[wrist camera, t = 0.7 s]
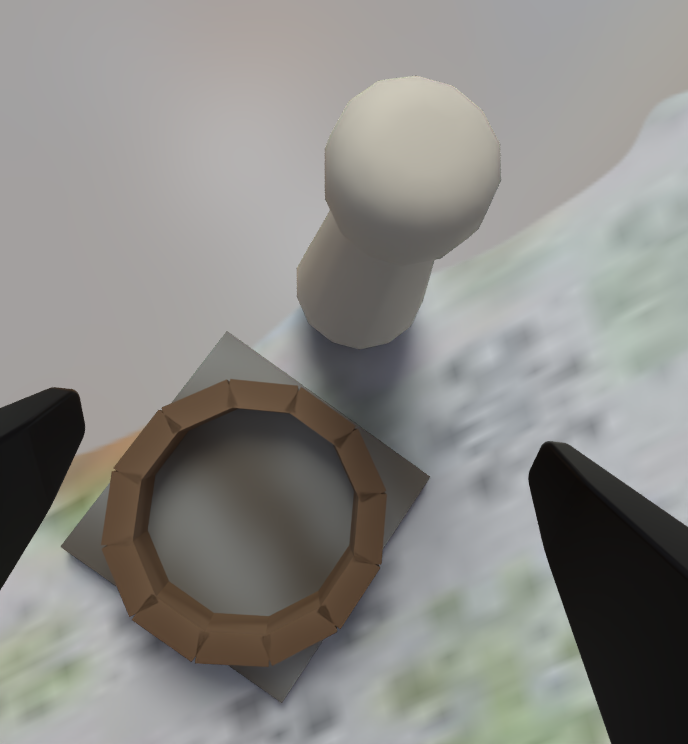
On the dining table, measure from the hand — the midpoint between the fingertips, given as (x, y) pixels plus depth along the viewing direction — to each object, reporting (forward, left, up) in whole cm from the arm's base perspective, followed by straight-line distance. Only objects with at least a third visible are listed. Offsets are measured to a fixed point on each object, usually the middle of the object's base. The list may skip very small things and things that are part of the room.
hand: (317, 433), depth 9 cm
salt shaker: (+6, +2, -14) cm, 15 cm away
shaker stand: (-5, 0, -13) cm, 14 cm away
